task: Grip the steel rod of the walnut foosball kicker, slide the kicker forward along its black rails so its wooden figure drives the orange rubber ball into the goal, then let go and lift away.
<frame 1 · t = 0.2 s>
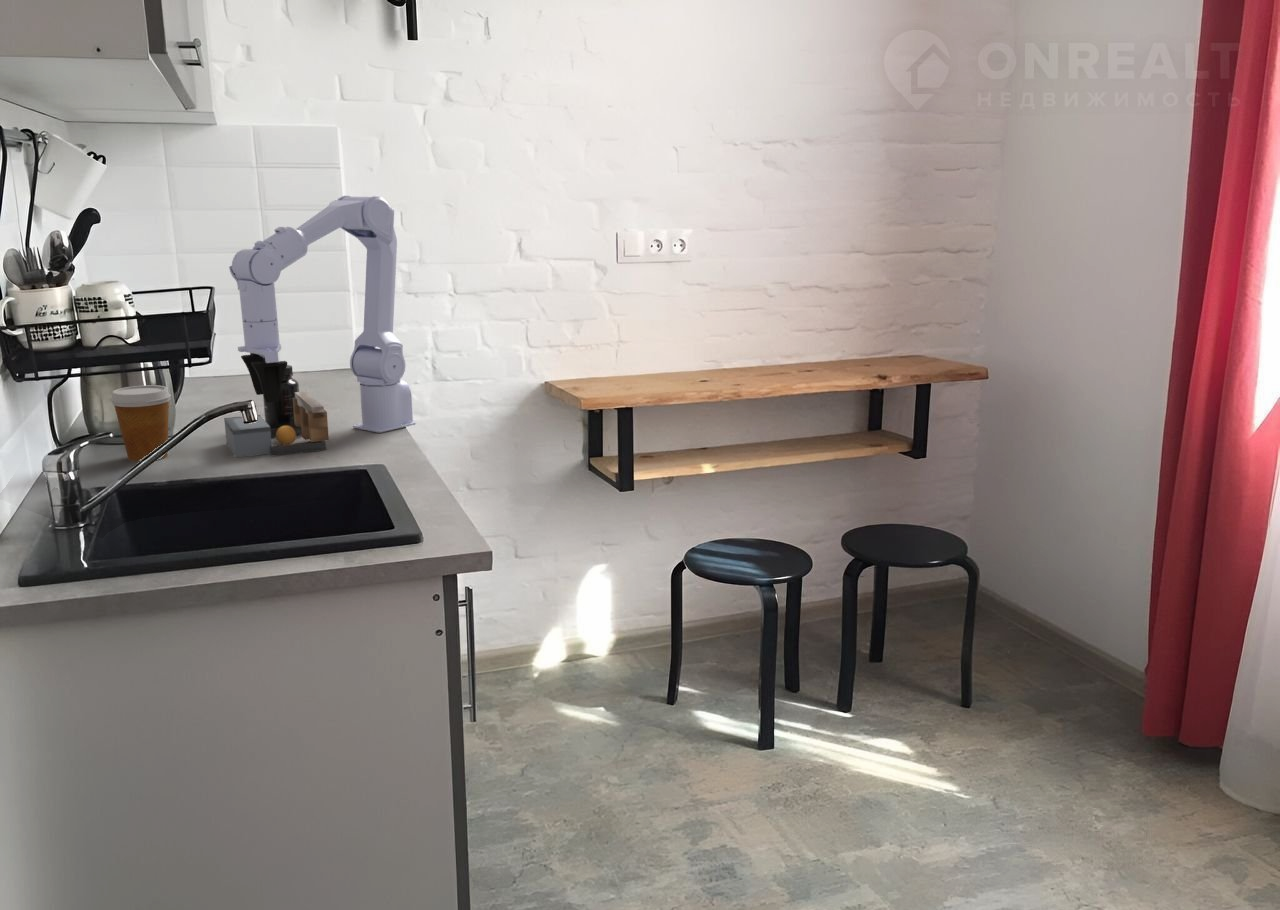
hand: (267, 397, 188), 10 cm above the countertop, tool pointing down, fingers open, 7 cm apart
ball: (286, 435, 196), point 2 cm above the countertop
goal: (252, 447, 194), on the countertop
rail frame: (291, 443, 197), on the countertop
disposable coffee cup: (148, 458, 188), on the countertop
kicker: (310, 418, 198), point 4 cm above the countertop, slide at 0.0 cm
supplement bottle: (284, 427, 211), on the countertop
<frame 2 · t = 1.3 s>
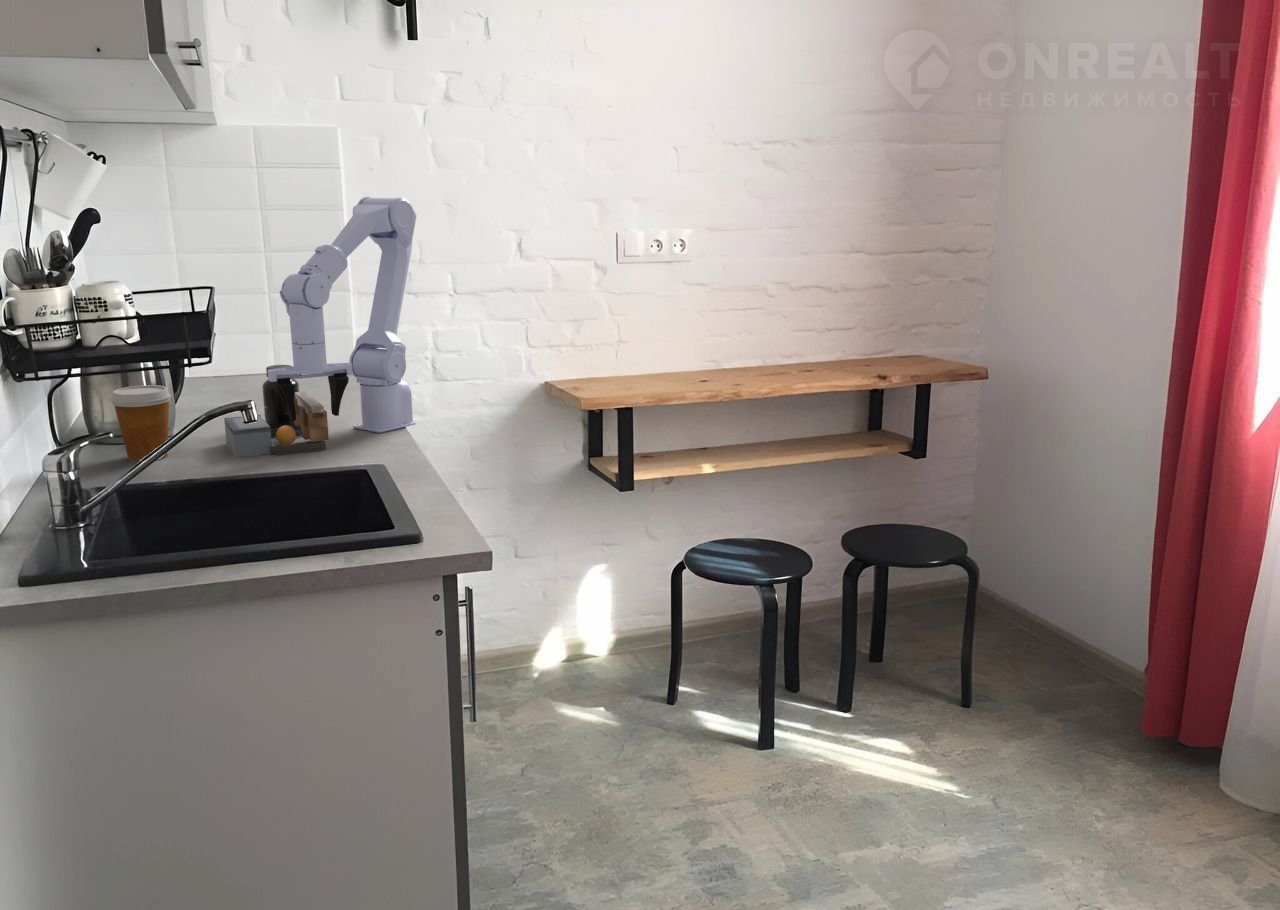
hand: (314, 417, 194), 5 cm above the countertop, tool pointing down, fingers open, 7 cm apart
nothing on the countertop moved.
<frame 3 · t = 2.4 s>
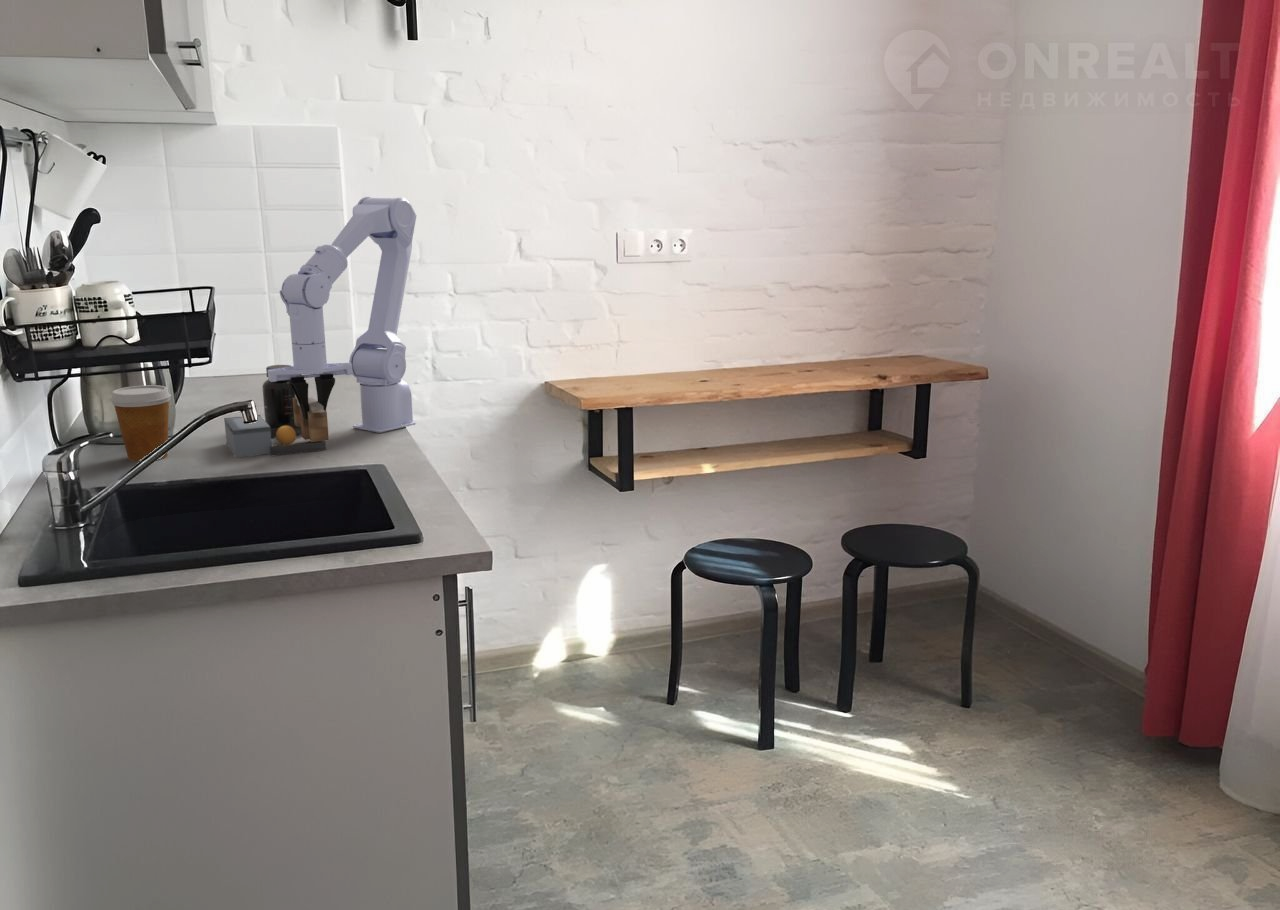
hand: (314, 417, 194), 5 cm above the countertop, tool pointing down, fingers closed on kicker, 2 cm apart
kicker: (310, 418, 198), point 4 cm above the countertop, slide at 0.0 cm, touching gripper
everything else where it was.
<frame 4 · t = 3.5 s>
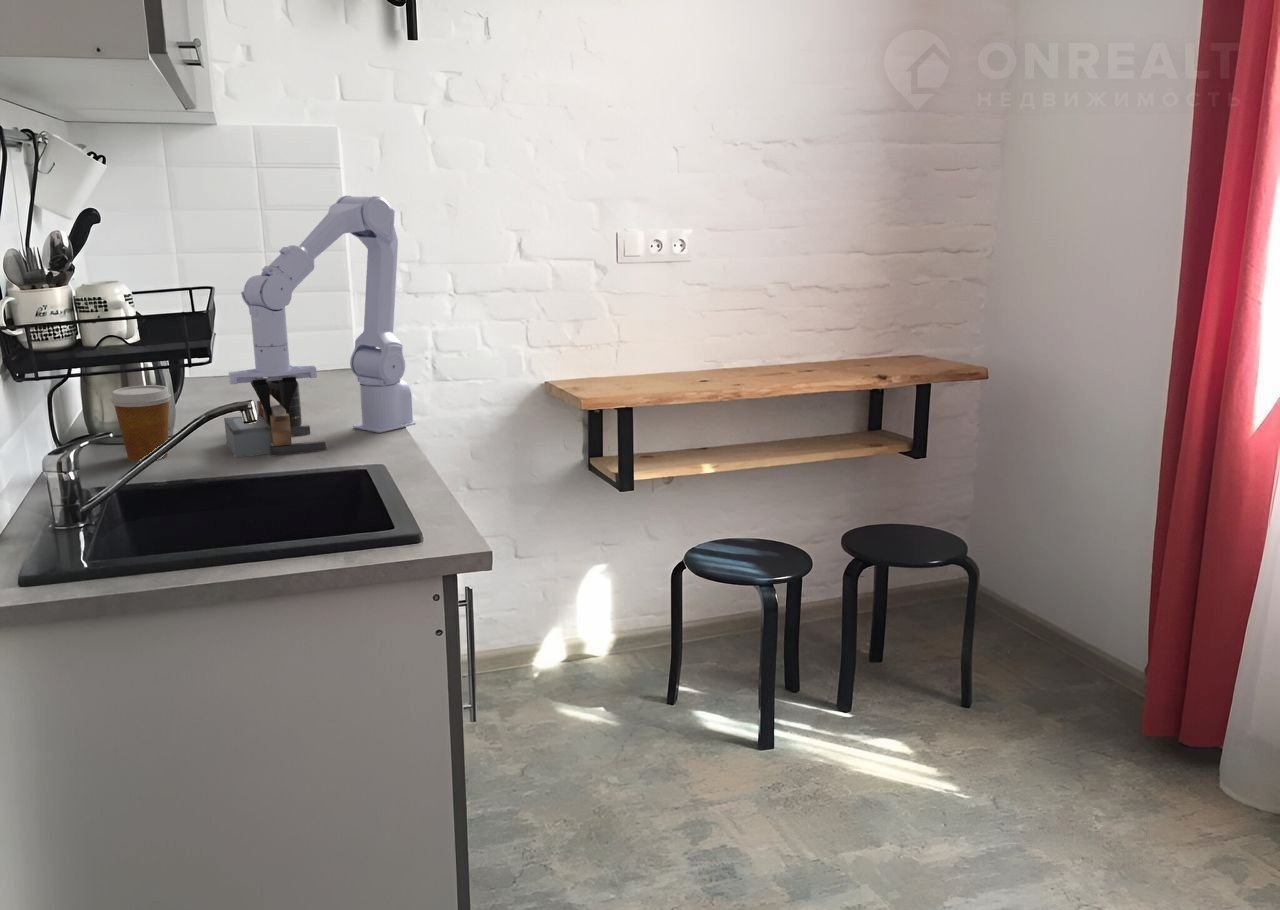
hand: (277, 420, 191), 5 cm above the countertop, tool pointing down, fingers closed on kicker, 2 cm apart
ball: (247, 439, 193), point 2 cm above the countertop, tilted 143°
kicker: (273, 421, 195), point 4 cm above the countertop, slide at 6.5 cm, touching gripper
everything else where it was.
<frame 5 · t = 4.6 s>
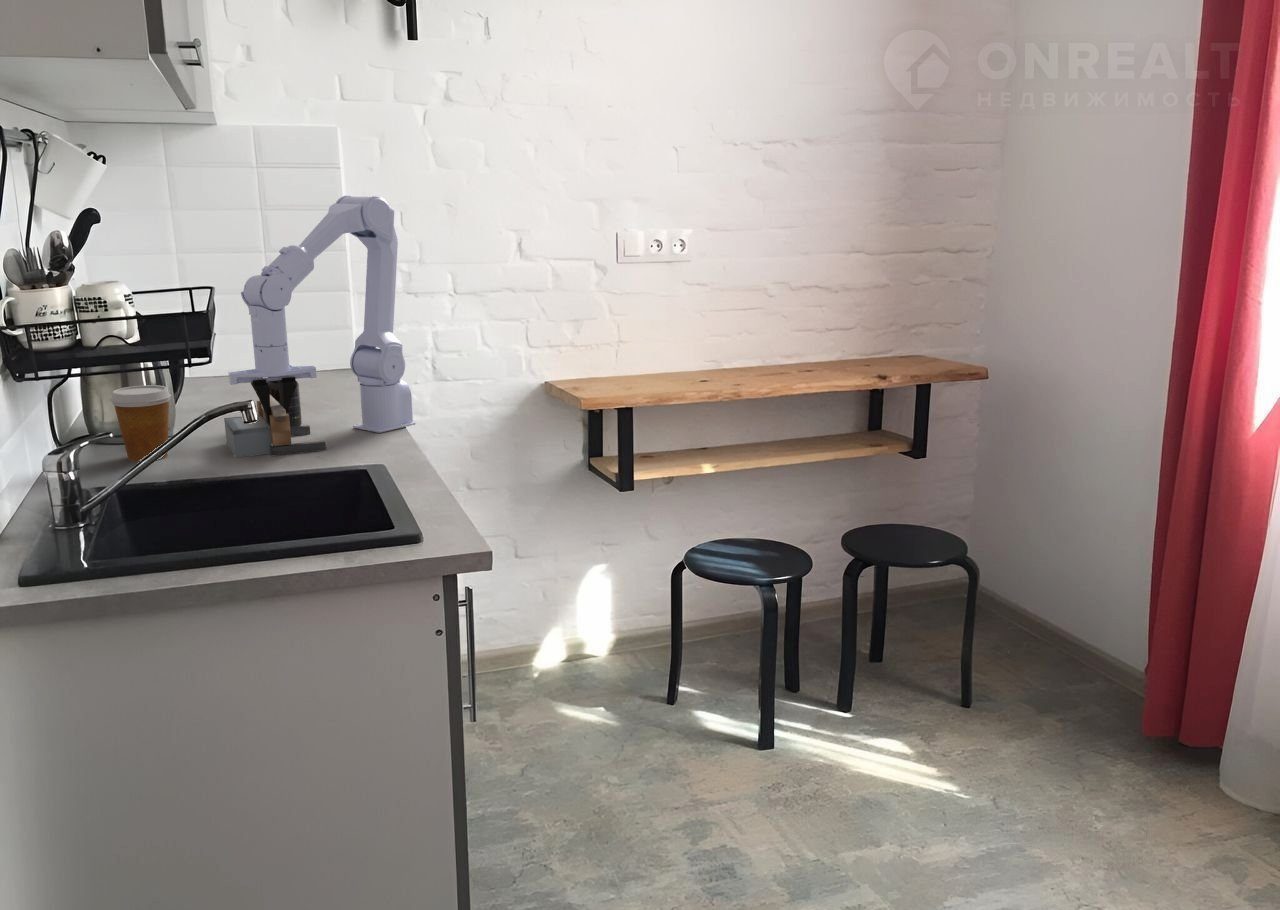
hand: (277, 420, 191), 5 cm above the countertop, tool pointing down, fingers closed on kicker, 2 cm apart
ball: (248, 438, 193), point 2 cm above the countertop, tilted 148°
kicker: (273, 421, 195), point 4 cm above the countertop, slide at 6.5 cm, touching goal, gripper
everything else where it was.
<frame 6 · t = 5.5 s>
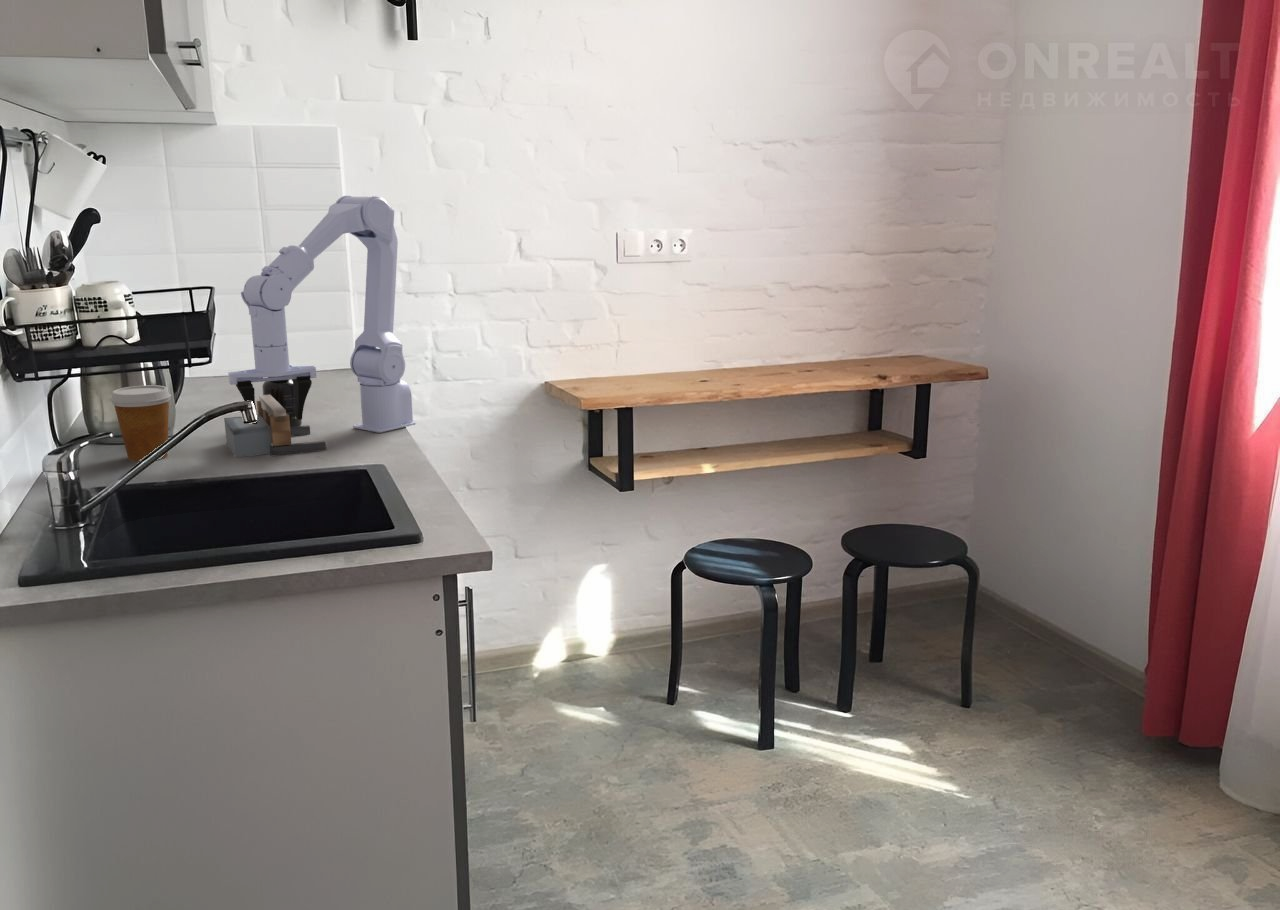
hand: (277, 420, 191), 5 cm above the countertop, tool pointing down, fingers open, 7 cm apart
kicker: (273, 421, 195), point 4 cm above the countertop, slide at 6.5 cm, touching goal
everything else where it was.
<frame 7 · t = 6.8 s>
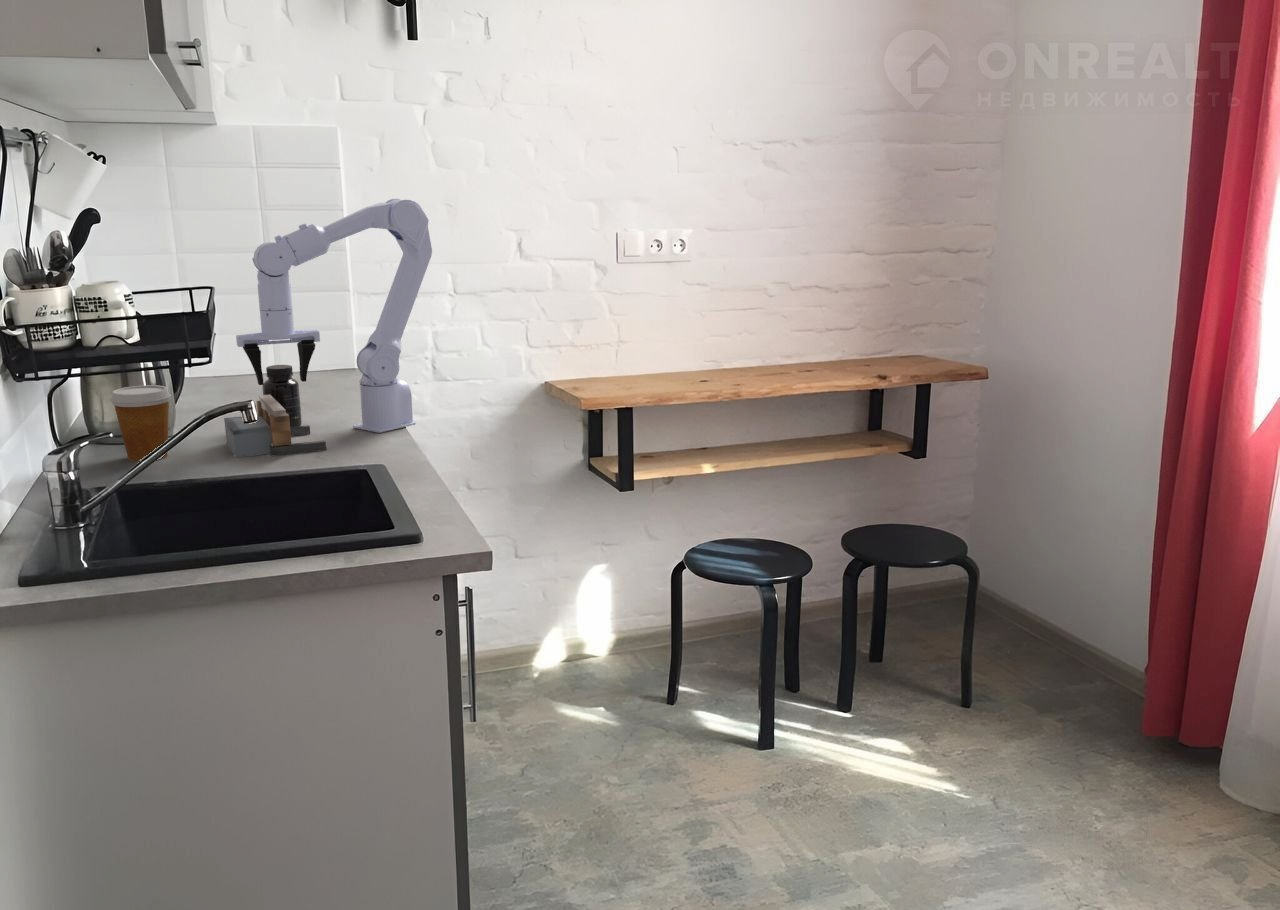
hand: (282, 382, 200), 10 cm above the countertop, tool pointing down, fingers open, 7 cm apart
ball: (250, 438, 193), point 2 cm above the countertop, tilted 159°
everything else where it was.
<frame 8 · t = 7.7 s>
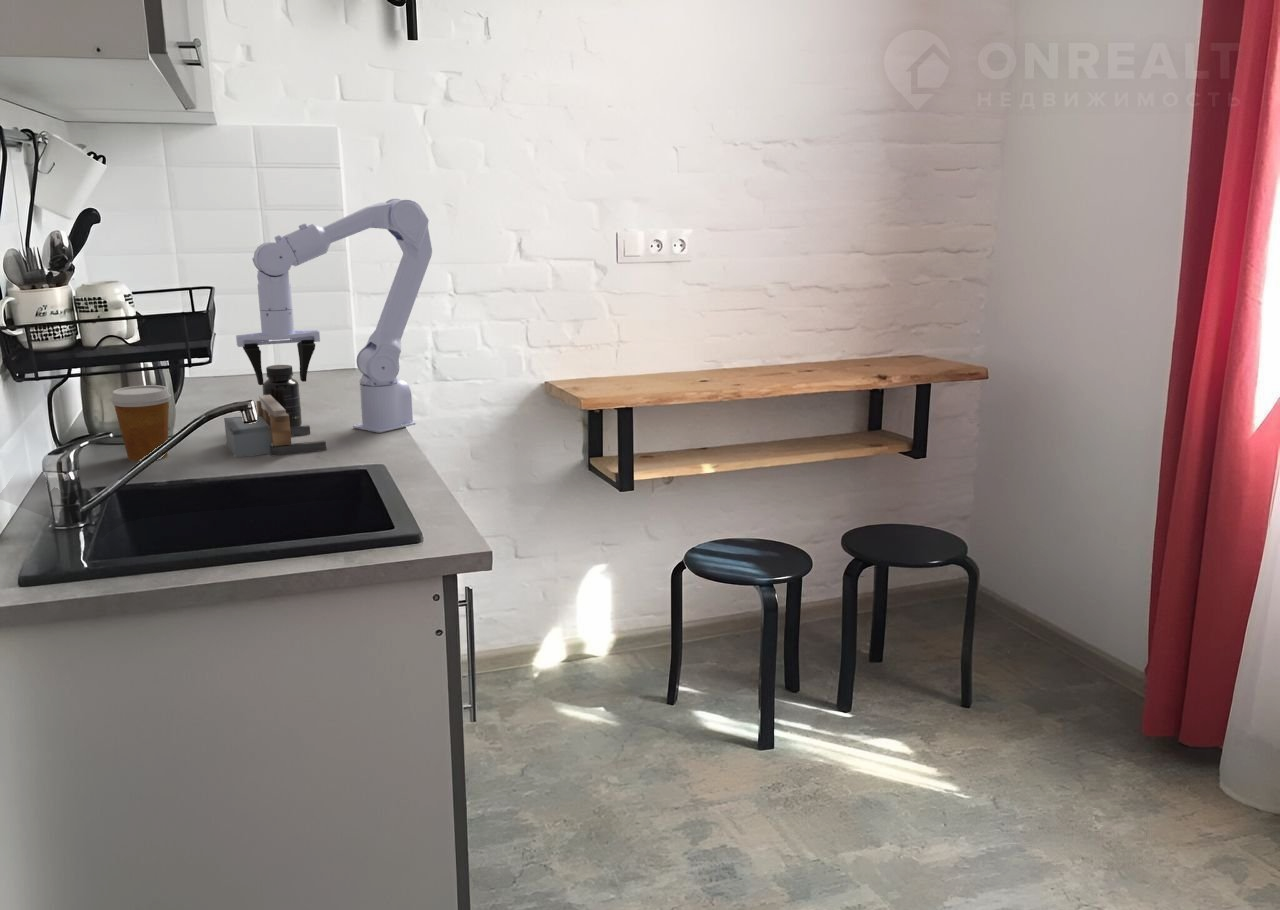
hand: (282, 382, 200), 10 cm above the countertop, tool pointing down, fingers open, 7 cm apart
nothing on the countertop moved.
at the end: ball 0.1 cm from the goal (horizontally); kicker slide at 6.5 cm; ball point 1.7 cm above the countertop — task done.
